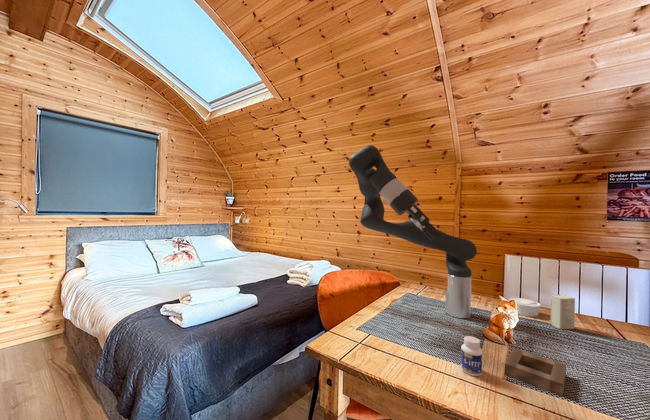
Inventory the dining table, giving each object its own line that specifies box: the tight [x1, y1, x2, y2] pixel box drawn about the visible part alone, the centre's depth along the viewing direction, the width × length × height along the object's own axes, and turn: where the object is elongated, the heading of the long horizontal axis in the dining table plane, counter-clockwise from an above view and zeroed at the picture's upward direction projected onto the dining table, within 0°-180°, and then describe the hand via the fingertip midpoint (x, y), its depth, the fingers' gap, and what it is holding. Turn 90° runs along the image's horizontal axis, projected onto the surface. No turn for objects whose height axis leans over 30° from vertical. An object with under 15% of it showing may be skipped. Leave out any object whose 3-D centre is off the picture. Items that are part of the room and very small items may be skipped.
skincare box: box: [550, 294, 576, 330], centre depth 106 cm, size 6×4×12 cm
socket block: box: [504, 348, 567, 397], centre depth 74 cm, size 12×12×3 cm
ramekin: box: [509, 297, 542, 318], centre depth 121 cm, size 11×11×5 cm
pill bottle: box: [460, 335, 483, 377], centre depth 75 cm, size 5×5×9 cm
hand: (435, 237), depth 77 cm, fingers open, 8 cm apart
